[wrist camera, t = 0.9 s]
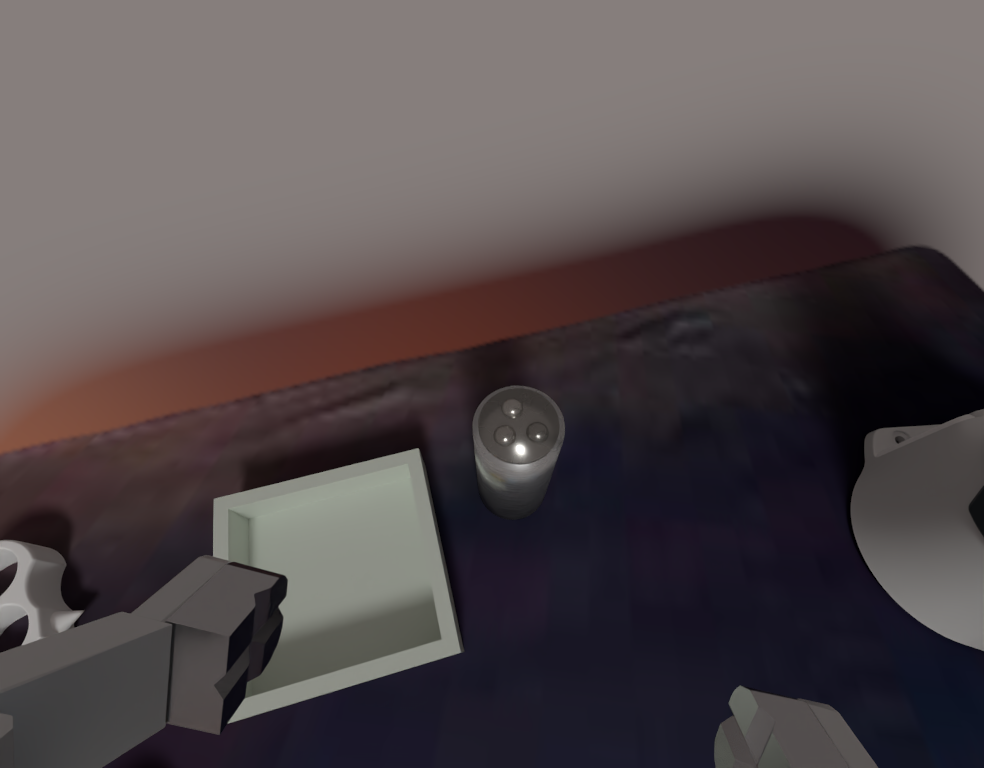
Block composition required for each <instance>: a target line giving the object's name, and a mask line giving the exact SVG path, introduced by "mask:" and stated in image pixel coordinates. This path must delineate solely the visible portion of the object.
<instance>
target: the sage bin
mask: <svg viewBox="0 0 984 768" xmlns="http://www.w3.org/2000/svg"><path fill="white" fill-rule="evenodd" d="M213 557H216V558H220V559H224V560H228V561H231V562H237V563H241V564H244V565H248V566H252V567H256V568H259V569H263V570H267V571H271V572H274V573H278V574H282V575H285V576H286V578H287V579H288V585H287V596H286V597H285V599H284V600H283V601H282V602H281V604H280V605H279V606H278V607H279V609H280V611H281V613H282V615H283V617H284V619H283V626H282V631H281V635H280V638H279V642H278V644H277V647H276V649H275V651H274V653H273V655H272V657H271V660H270V662H269V663H268V665H267V666H266V668H265V669H264V671H263V672H262V674H261V675H260V676H258V677H256V678H254V679H252V680H251V681H249V682H247V687H246V695H245V699H244V700H243V702H242V703H241V705H240V706H239V707H238V709H237V710H236V712H235V713H234V715H233V716H232V718H231V719H230V720H229V722H228V723H231V722H235V721H238V720H242V719H245V718H248V717H251V716H255V715H258V714H261V713H265V712H268V711H271V710H274V709H278V708H281V707H284V706H288V705H291V704H294V703H297V702H301V701H304V700H307V699H311V698H314V697H317V696H320V695H324V694H327V693H330V692H334V691H337V690H340V689H343V688H347V687H350V686H353V685H357V684H360V683H363V682H366V681H370V680H373V679H376V678H380V677H383V676H386V675H389V674H393V673H396V672H399V671H403V670H406V669H409V668H412V667H416V666H419V665H422V664H426V663H429V662H432V661H435V660H439V659H442V658H445V657H449V656H452V655H455V654H458V653H462V652H464V648H463V643H462V639H461V634H460V629H459V624H458V620H457V615H456V610H455V605H454V600H453V596H452V591H451V586H450V581H449V577H448V572H447V567H446V562H445V557H444V553H443V548H442V543H441V538H440V534H439V529H438V524H437V519H436V515H435V510H434V505H433V500H432V495H431V491H430V486H429V481H428V476H427V472H426V467H425V464H424V461H423V458H422V456H421V453H420V450H419V448H417V449H413V450H409V451H405V452H401V453H397V454H393V455H389V456H385V457H381V458H377V459H373V460H369V461H365V462H361V463H357V464H353V465H349V466H345V467H341V468H337V469H333V470H328V471H324V472H320V473H316V474H312V475H308V476H304V477H300V478H296V479H292V480H288V481H284V482H280V483H276V484H272V485H268V486H264V487H260V488H256V489H252V490H248V491H244V492H240V493H236V494H232V495H228V496H224V497H220V498H216V499H214V526H213ZM228 723H227V724H228Z"/></svg>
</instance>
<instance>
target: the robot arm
mask: <svg viewBox="0 0 984 768" xmlns="http://www.w3.org/2000/svg"><path fill="white" fill-rule="evenodd" d="M895 440H896V441H898V443H899V444H898V443H897V442H896V441H895ZM864 455H865V465H864V468H863V471H862V473H861V475H860V476H859V478H858V480H857V482H856V484H855V487H854V490H853V493H852V498H851V521H852V527H853V532H854V535H855V538H856V541H857V544H858V547H859V549H860V551H861V554H862V556H863V558H864V560H865V562H866V563H867V565H868V567H869V568H870V570H871V572H872V573H873V575H874V576H875V577H876V579H877V580H878V582H879V583H880V584H881V585H882V587H883V588H884V589H885V590H886V591H887V593H888V594H889V595H890V596H891V597H892V598H893V599H894V600H895V601H896V602H897V603H898V604H899V605H900V606H901V607H902V608H903V609H904V610H906V611H907V612H908V613H909V614H910V615H912V616H913V617H914V618H916V619H917V620H918V621H920V622H921V623H923V624H924V625H926V626H927V627H929V628H930V629H932V630H934V631H935V632H937V633H939V634H941V635H943V636H945V637H947V638H949V639H951V640H954V641H956V642H959V643H961V644H964V645H968V646H971V647H974V648H977V649H980V650H982V651H984V409H982V410H978V411H975V412H972V413H970V414H967V415H963V416H960V417H957V418H955V419H953V420H950V421H948V422H946V423H943V424H941V425H925V426H909V427H894V428H881V429H878V430H875V431H873V432H870V433H868V434H867V435H866V437H865V442H864ZM287 585H288V579H287V578H286V576H285V575H282V574H278V573H274V572H271V571H267V570H263V569H259V568H256V567H252V566H248V565H244V564H241V563H237V562H231V561H228V560H224V559H220V558H216V557H213V556H209V555H206V556H202V557H199V558H197V559H196V560H195V561H193V562H192V563H191V564H190V565H189V566H187V567H186V568H185V569H184V570H183V571H181V572H180V573H179V574H178V575H177V576H175V577H174V578H173V579H172V580H171V581H169V582H168V583H167V584H166V585H165V586H163V587H162V588H161V589H160V590H159V591H157V592H156V593H155V594H154V595H153V596H151V597H150V598H149V599H148V600H147V601H145V602H144V603H143V604H142V605H141V606H139V607H138V608H137V609H136V610H134V611H133V612H132V613H131V614H129V613H125V612H119V613H116V614H113V615H111V616H108V617H105V618H102V619H99V620H96V621H93V622H90V623H87V624H84V625H81V626H78V627H75V628H72V629H69V630H66V631H63V632H60V633H57V634H54V635H51V636H48V637H45V638H43V639H40V640H37V641H34V642H31V643H28V644H25V645H22V646H19V647H16V648H13V649H10V650H7V651H4V652H1V653H0V768H102V767H103V766H105V765H106V764H108V763H109V762H111V761H113V760H114V759H116V758H117V757H119V756H120V755H122V754H123V753H125V752H127V751H128V750H130V749H131V748H133V747H134V746H136V745H137V744H139V743H141V742H142V741H144V740H145V739H147V738H148V737H150V736H151V735H153V734H155V733H156V732H158V731H159V730H161V729H162V728H164V727H165V724H166V723H168V724H172V725H177V726H182V727H186V728H191V729H195V730H200V731H205V732H209V733H214V734H218V735H220V734H221V732H222V731H223V729H224V728H225V726H226V725H227V723H228V722H229V720H230V719H231V718H232V716H233V715H234V713H235V712H236V710H237V709H238V707H239V706H240V705H241V703H242V702H243V700H244V699H245V695H246V687H247V682H249V681H251V680H252V679H254V678H256V677H258V676H260V675H261V674H262V672H263V671H264V669H265V668H266V666H267V665H268V663H269V662H270V660H271V657H272V655H273V653H274V651H275V649H276V647H277V644H278V642H279V638H280V635H281V631H282V626H283V619H284V617H283V615H282V613H281V611H280V609H279V607H278V606H279V605H280V604H281V602H282V601H283V600H284V599H285V597H286V596H287ZM729 705H730V708H731V711H732V713H733V716H732V717H730V718H729V719H727V720H726V721H724V722H723V723H721V724H720V727H719V730H718V732H717V735H716V738H715V756H714V759H715V764H716V768H878V767H877V765H876V764H875V763H874V761H873V760H872V758H871V757H870V756H869V754H868V753H867V752H866V750H865V749H864V747H863V746H862V745H861V743H860V742H859V740H858V739H857V738H856V736H855V735H854V733H853V732H852V731H851V729H850V728H849V726H848V725H847V724H846V722H845V721H844V719H843V718H842V717H841V715H840V714H839V713H838V712H837V711H836V710H835V709H833V708H832V707H831V706H830V705H827V704H822V703H818V702H813V701H808V700H804V699H795V698H791V697H787V696H783V695H778V694H774V693H770V692H766V691H761V690H757V689H753V688H749V687H744V686H739V687H738V688H737V689H736V690H735V691H734V692H733V694H732V696H731V699H730V701H729Z"/></svg>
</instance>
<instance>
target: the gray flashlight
mask: <svg viewBox="0 0 984 768" xmlns="http://www.w3.org/2000/svg"><path fill="white" fill-rule="evenodd" d="M472 427H473V439H474V450H475V460H476V470H477V480H478V490H479V495H480V498H481V500H482V502H483V504H484V505H485V507H486V508H487V509H488V510H489V511H490V512H491V513H493V514H494V515H496V516H498V517H501V518H504V519H509V520H516V519H522V518H525V517H527V516H529V515H531V514H532V513H534V512H535V511H536V510H537V509H538V508H539V506H540V505H541V503H542V501H543V499H544V496H545V493H546V490H547V487H548V484H549V481H550V479H551V476H552V473H553V470H554V467H555V464H556V461H557V458H558V455H559V452H560V449H561V446H562V443H563V439H564V434H565V424H564V419H563V416H562V413H561V411H560V409H559V408H558V406H557V405H556V403H555V402H554V401H553V400H552V399H551V398H550V397H549V396H547V395H546V394H545V393H543V392H541V391H539V390H537V389H534V388H531V387H527V386H508V387H504V388H501V389H498V390H496V391H494V392H493V393H491V394H490V395H488V396H487V397H486V398H485V399H484V400H483V401H482V402H481V403H480V405H479V406H478V408H477V410H476V412H475V415H474V418H473V426H472Z"/></svg>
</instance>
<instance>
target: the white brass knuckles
mask: <svg viewBox="0 0 984 768" xmlns="http://www.w3.org/2000/svg"><path fill="white" fill-rule="evenodd" d="M17 561H18V569H17V573H16V576H15V578H14V580H13V582H12V583H11V585H10V586H9V588H8V589H7V590H6V591H5V592H4V593H3V594H2V595H1V596H0V635H1V634H2V633H3V631H4V630H5V629H6V628H7V627H8V626H9V625H10V624H12V623H13V622H14V621H16V620H18V619H19V618H21V617H23V616H25V615H27V614H28V618H29V628H28V632H27V635H26V638H25V640H24V642H23V643H22V645H25V644H28V643H31V642H34V641H37V640H40V639H43V638H45V637H48V636H51V635H54V634H57V633H60V632H63V631H66V630H69V629H72V628H74V622H75V621H76V620H77V619H78V618H79V617H80V615H81V614H82V613H83V612H84V611H85V610H80V611H72V610H71V609H70V608H69V607H68V606H67V605H66V604H65V602H64V601H63V598H62V595H61V579H62V575H63V572H64V570H65V567H66V562H65V560H64V558H63V557H62V555H61V554H60V553H59V552H57V551H56V550H54V549H51V548H48V547H44V546H39V545H35V544H30V543H26V542H21V541H16V540H0V571H1V570H3V569H4V568H6V567H7V566H9V565H11V564H13V563H15V562H17ZM22 645H21V646H22Z"/></svg>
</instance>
